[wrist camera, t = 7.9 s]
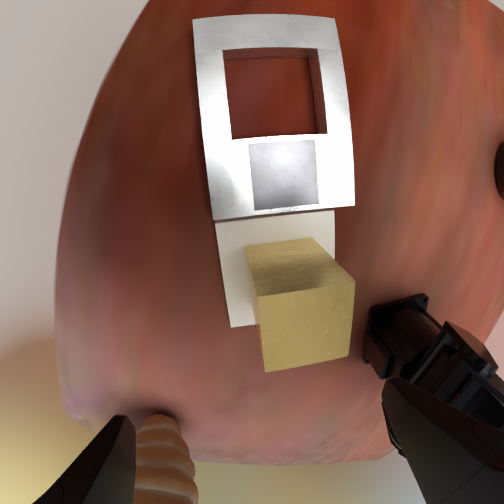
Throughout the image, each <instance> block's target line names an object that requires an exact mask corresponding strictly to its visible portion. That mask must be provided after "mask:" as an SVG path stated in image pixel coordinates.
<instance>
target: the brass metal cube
mask: <svg viewBox="0 0 504 504" xmlns="http://www.w3.org/2000/svg"><path fill="white" fill-rule="evenodd" d="M245 253H246V261H247V270H248V278H249V287H250V295H251V304H252V310H253V315H254V320H255V325H256V330H257V335H258V340H259V345H260V350H261V355H262V360H263V365H264V370H265V372H271V371H277V370H283V369H289V368H294V367H300V366H305V365H310V364H315V363H319V362H324V361H329V360H333V359H337V358H342V357H346V356H348V354H349V346H350V337H351V328H352V318H353V307H354V295H355V280H354V279H353V278H352V277H351V276H350V275H349V274H348V273H347V272H346V271H345V270H344V269H343V268H342V267H341V266H340V265H339V264H338V263H337V262H336V261H335V260H334V259H333V258H332V257H331V256H330V255H329V254H328V253H327V252H326V251H325V250H324V249H323V248H322V247H321V246H320V245H319V244H318V243H317V242H316V241H315V240H314V239H313V238H312V237H311V238H303V239H295V240H287V241H279V242H271V243H263V244H255V245H247V246H245Z"/></svg>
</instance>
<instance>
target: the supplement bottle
mask: <svg viewBox="0 0 504 504" xmlns="http://www.w3.org/2000/svg"><path fill="white" fill-rule="evenodd" d="M496 180H497V185H498V189H499V191H500V193H501V195H502V197H503V198H504V144H503V145H502V147H501V148H500V150H499V153H498V156H497V161H496Z"/></svg>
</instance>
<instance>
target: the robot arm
mask: <svg viewBox="0 0 504 504" xmlns="http://www.w3.org/2000/svg"><path fill="white" fill-rule="evenodd" d="M428 299H429V298H428V296H427V295H426V294H421V295H418V296H414V297H410V298H406V299H402V300H398V301H394V302H390V303H386V304H382V305H377V306H374V307H372V308H371V310H370V314H369V322H368V329H367V331H366V335H365V341H364V347H363V353H364V354H363V361H364V363H365V364H369V363H370V364H371V365H372V367H373V368H374V370H375V372H376V373H377V375H378V376H379V378H380V379H382V380H384V379H386V381H385V385H384V388H383V391H382V400H383V401H382V407H383V412H384V416H385V421H386V425H387V430H388V435H389V438H390V441H391V443H392V444H393V445H394V446H395V448H396V449H397V450H398V453H399V454H400V455H402V456H403V457H405V458H406V459H407V461H408V463H409V465H410V468H411V470H412V472H413V474H414V476H415V478H416V481H417V483H418V485H419V488H420V490H421V492H422V494H423V497H424V499H425V501H426V504H504V381H503V380H502V379H501V378H500V377H499V376H498V375H497V374H496V373H495V372H496V371H497V370H498V366H497V364H496V362H495V361H494V359H493V357H492V356H491V354H490V353H489V351H488V350H487V348H486V347H485V345H484V344H483V343H481V342H480V341H479V340H478V339H477V338H476V337H474V336H473V335H472V334H471V333H470V332H468V331H466V330H464V329H462V328H460V327H458V326H457V325H455V324H453V323H451V322H449V321H447V320H446V321H445V323H444V324H443V327H442V326H441V325H440V324H439V323H438V322H437V321H436V320H435V319H434V318H433V317H432V316H430V315H429V314H428V313H427V312H426V309H427V304H428ZM375 311H377V312H376V313H375ZM135 476H136V430H135V428H134V426H133V424H132V423H131V421H130V420H129V418H128V417H127V416H126V415H118V414H117V415H114V416H113V417H112V418H111V420H110V421H109V422H108V423H107V424H106V425H105V426H104V428H103V429H102V430H101V431H100V432H99V433H98V434H97V435H96V437H95V438H94V439H93V440H92V441H91V442H90V443H89V445H88V446H87V447H86V448H85V449H84V450H83V451H82V452H81V454H80V455H79V456H78V457H77V458H76V459H75V461H73V463H72V464H71V465H70V466H69V467H68V468H67V469H66V470H65V472H64V473H63V474H62V475H61V477H60V478H58V479H57V480H56V482H55V483H54V484H53V485H52V486H51V487H50V488H49V489H48V490H47V491H46V492H45V493H44V494H43V495H42V496H41V497H39V498H38V499H37V500H36V501H35V502H34V503H32V504H133V499H134V487H135Z"/></svg>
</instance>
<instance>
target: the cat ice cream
mask: <svg viewBox="0 0 504 504" xmlns="http://www.w3.org/2000/svg"><path fill="white" fill-rule="evenodd" d="M194 476H195V467H194V463H193V462H192V460H191V459H190V453H189V449H188V446H187V444H186V443H185V441H184V440H183V438H182V437H181V432H180V428H179V426H178V424H177V423H176V421H175V420H174V419H173V418H171V417H169V416H166V415H161V414H156V415H151V416H149V417H148V418H146V419H145V420H144V421H143V422H142V424H141V427H140V429H139V434H137V435H136V476H135V487H134V499H133V504H197V503H198V497H199V495H198V489H197V486H196V484H195V482H194V481H193V480H194Z"/></svg>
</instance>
